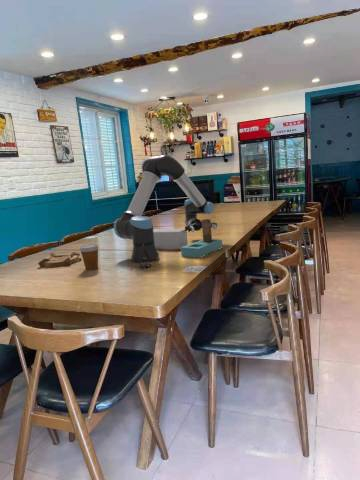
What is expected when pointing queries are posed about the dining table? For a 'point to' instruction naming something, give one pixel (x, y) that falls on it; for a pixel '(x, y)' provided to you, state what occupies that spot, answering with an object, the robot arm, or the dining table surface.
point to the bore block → (200, 248)
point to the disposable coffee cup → (90, 256)
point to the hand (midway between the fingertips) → (204, 228)
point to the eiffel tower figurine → (144, 261)
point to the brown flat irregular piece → (59, 260)
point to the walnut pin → (206, 230)
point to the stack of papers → (170, 238)
